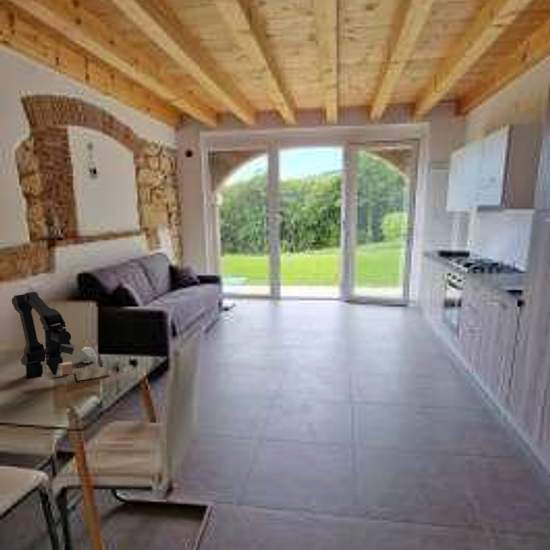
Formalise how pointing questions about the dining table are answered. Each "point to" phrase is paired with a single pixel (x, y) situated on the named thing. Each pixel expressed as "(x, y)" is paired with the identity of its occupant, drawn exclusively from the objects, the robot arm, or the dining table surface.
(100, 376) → the walnut board
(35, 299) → the robot arm
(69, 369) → the terracotta brick
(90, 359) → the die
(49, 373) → the birch brick
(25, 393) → the dining table surface
